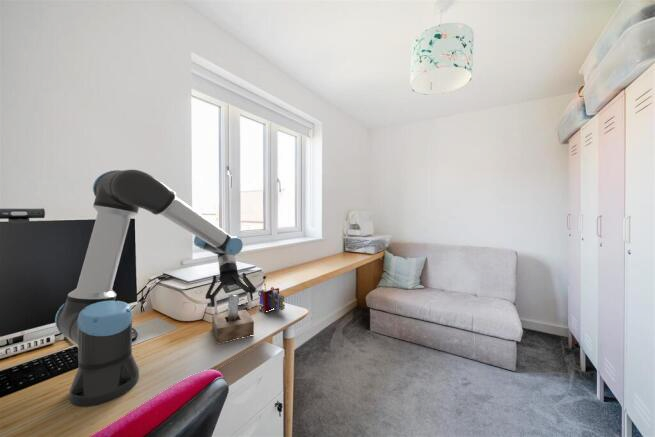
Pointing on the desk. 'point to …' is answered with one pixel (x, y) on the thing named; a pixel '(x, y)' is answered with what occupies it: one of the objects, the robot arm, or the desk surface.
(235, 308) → the steel pin
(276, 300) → the robot toy
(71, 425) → the desk surface
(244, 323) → the walnut socket block
